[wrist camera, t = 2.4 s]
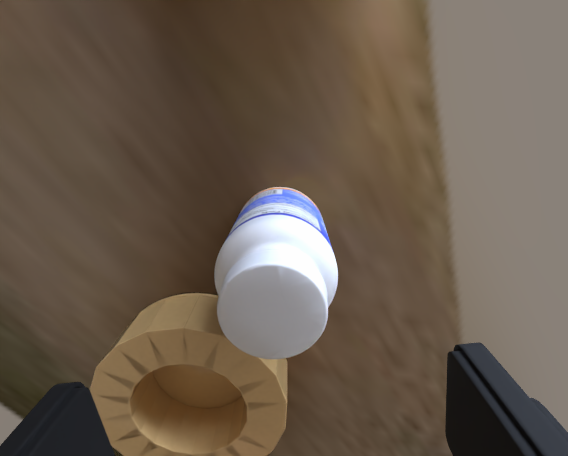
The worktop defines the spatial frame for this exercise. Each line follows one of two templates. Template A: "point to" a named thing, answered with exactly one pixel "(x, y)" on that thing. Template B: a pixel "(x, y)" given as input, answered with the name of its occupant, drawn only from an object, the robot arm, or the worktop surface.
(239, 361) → the tape roll
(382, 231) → the worktop surface
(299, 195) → the pill bottle
